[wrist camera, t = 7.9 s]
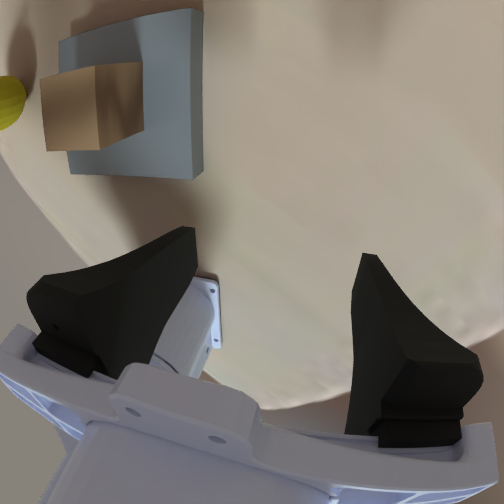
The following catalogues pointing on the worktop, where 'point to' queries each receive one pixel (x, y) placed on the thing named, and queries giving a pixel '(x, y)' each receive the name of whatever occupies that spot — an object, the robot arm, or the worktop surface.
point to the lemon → (11, 100)
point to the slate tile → (149, 93)
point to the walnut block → (92, 106)
